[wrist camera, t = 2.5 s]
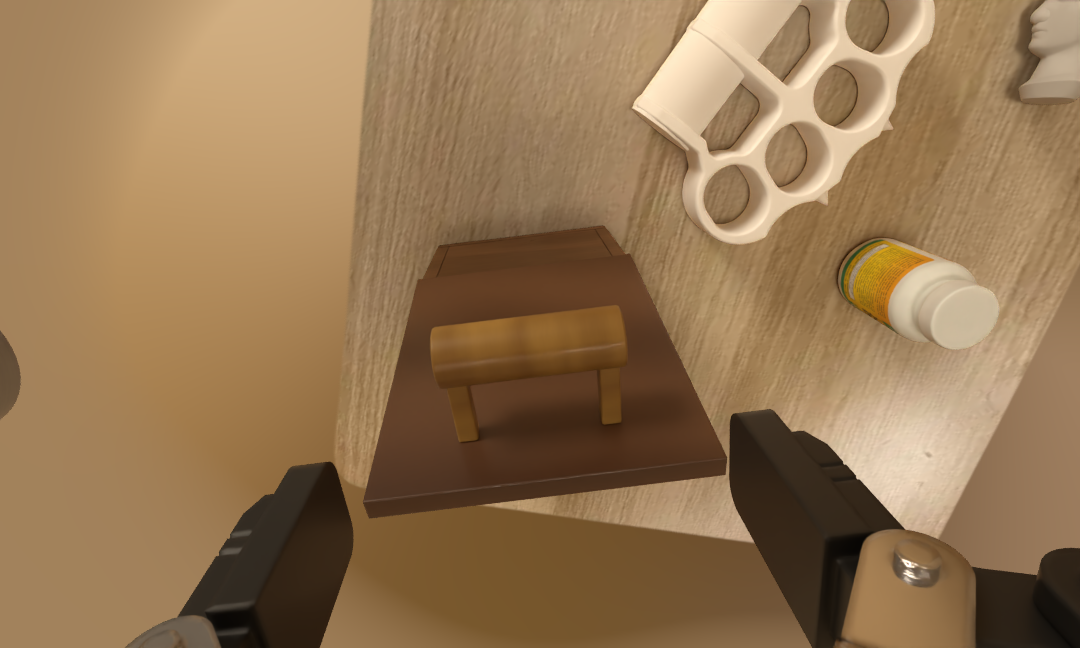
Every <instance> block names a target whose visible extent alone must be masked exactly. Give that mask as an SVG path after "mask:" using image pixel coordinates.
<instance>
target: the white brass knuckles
mask: <svg viewBox="0 0 1080 648" xmlns="http://www.w3.org/2000/svg"><path fill="white" fill-rule="evenodd" d="M850 1H851V0H708V2H707V3H706V4H705V6H704V7H703V9H702V10H701V11H700V13H699V14H698V16H697V17H696V18H695V20H693V21H692V22H691V23H690V25H689V26H688V27H687V29H686V30H687V31H686V33H685V34H684V35H683V37H682V38H681V40H680V41H679V42H678V44H677V45H676V47H675V48H674V49H673V51H672V52H671V54H670V55H669V56H668V58H667V59H666V61H665V62H664V63H663V65H662V66H661V68H660V69H659V70H658V72H657V73H656V75H655V76H654V78H653V79H652V80H651V82H650V83H649V85H648V86H647V87H646V89H645V90H644V92H643V93H642V94H641V96H638V98H637V99H636V101H635V102H634V103H633V107H632V110H633V111H634V112H635V113H636V114H637V115H639V116H640V117H641V118H642V119H643V120H644V121H645V122H647V123H648V124H649V125H650V126H652V127H653V128H654V129H655V130H657V131H658V132H659V133H660V134H662V135H663V136H664V137H666V138H667V139H668V140H670V141H671V142H673V143H674V144H675V145H677V146H678V147H680V148H681V149H683V150H685V154H686V158H687V162H688V171H687V173H686V176H685V179H684V183H683V190H682V196H683V203H684V207H685V210H686V212H687V214H688V216H689V217H690V219H691V220H692V221H693V222H694V223H695V224H696V225H697V226H698V227H699V228H701V229H702V230H703V231H705V232H706V233H708V234H709V235H711V236H712V237H714V238H715V239H717V240H719V241H721V242H724V243H728V244H735V245H742V244H749V243H753V242H756V241H759V240H761V239H763V238H765V237H766V236H767V234H768V232H769V230H770V228H771V227H772V225H773V224H774V223H775V221H776V220H777V219H778V218H779V217H780V216H781V215H782V214H783V213H785V212H786V211H787V210H789V209H791V208H792V207H794V206H797V205H799V204H802V203H806V202H813V201H817V202H820V203H822V204H824V205H826V206H828V190H829V189H831V188H832V187H833V186H835V185H836V184H837V183H839V182H840V181H841V178H842V175H843V172H844V170H845V168H846V166H847V164H848V162H849V161H850V159H851V158H852V156H853V155H854V154H855V153H856V152H857V151H858V150H859V149H860V148H861V147H862V146H863V145H865V144H866V143H868V142H869V141H871V140H873V139H875V138H877V137H879V135H880V133H881V131H885V130H894V128H893V127H892V125H891V123H890V121H889V119H888V118H889V117H890V115H891V113H892V111H893V109H894V107H895V105H896V93H897V88H898V84H899V81H900V78H901V76H902V74H903V72H904V70H905V68H906V66H907V65H908V63H909V62H910V60H911V59H912V58H913V57H914V56H915V55H916V54H917V53H918V52H919V51H920V50H921V49H922V48H923V47H925V46H926V45H927V44H928V43H929V42H930V39H931V36H932V33H933V28H934V22H935V7H934V1H933V0H884V2H885V3H886V5H887V8H888V12H889V25H888V29H887V32H886V35H885V37H884V39H883V40H882V42H881V43H880V45H879V46H878V47H877V48H876V49H875V50H874V51H873V52H868V51H866V50H863V49H861V48H859V47H857V46H856V45H855V44H854V43H853V42H852V41H851V40H850V38H849V36H848V34H847V31H846V24H845V19H846V12H847V8H848V5H849V3H850ZM799 5H803V6H805V7H807V8H808V10H809V12H810V22H809V34H810V46H809V48H808V50H807V51H806V53H805V54H804V55H803V56H802V58H801V59H800V60H799V62H798V63H797V64H796V65H795V67H794V68H793V69H792V71H791V72H790V73H789V74H788V76H787V77H786V78H785V80H784V81H783V82H781V81H780V80H779V79H778V78H777V77H776V76H775V75H773V74H772V73H771V72H770V71H769V70H768V69H767V68H765V67H764V66H763V65H762V64H761V63H760V62H758V61H757V60H758V58H759V57H760V56H761V54H762V53H763V52H764V50H765V49H766V48H767V46H768V45H769V44H770V43H771V41H772V40H773V39H774V37H775V36H776V35H777V33H778V32H779V31H780V29H781V28H782V27H783V25H784V24H785V23H786V21H787V20H788V19H789V17H790V16H791V15H792V14H793V12H794V11H795V10H796V8H797V7H798V6H799ZM832 65H837V66H839V67H842V68H844V69H846V70H848V71H849V72H850V73H851V74H852V75H853V76H854V78H855V80H856V82H857V86H858V97H857V102H856V105H855V107H854V109H853V111H852V112H851V114H850V115H849V116H848V117H847V118H846V119H845V120H844V121H843V122H842V123H840V124H839V125H837V126H834V127H833V126H831V125H828V124H826V123H824V122H823V121H822V120H821V119H820V118H819V117H818V115H817V113H816V111H815V108H814V101H813V99H814V91H815V87H816V85H817V83H818V81H819V79H820V77H821V76H822V74H823V73H824V72H825V71H826V70H827V69H828V68H829V67H831V66H832ZM739 83H741V84H742V85H743V86H744V87H745V88H747V89H748V90H749V91H750V92H751V93H752V94H754V95H755V96H756V97H757V98H758V100H759V104H760V108H759V112H758V114H757V115H756V117H755V118H754V119H753V120H752V122H751V123H750V124H749V126H748V127H747V128H746V129H745V131H744V132H743V133H742V135H741V136H740V137H739V138H738V140H737V141H736V142H735V144H734V145H733V146H732V147H731V148H729V149H727V150H715V151H711V152H709V151H708V147H707V143H706V141H705V140H704V139H703V138H702V137H701V136H700V135H701V134H702V132H703V131H704V130H705V128H706V127H707V126H708V124H709V123H710V122H711V120H712V119H713V118H714V116H715V115H716V114H717V112H718V111H719V110H720V108H721V107H722V106H723V105H724V103H725V102H726V101H727V99H728V98H729V97H730V95H731V94H732V93H733V91H734V90H735V89H736V87H737V86H738V85H739ZM789 124H792V125H793V126H795V127H796V129H797V130H798V131H799V133H800V135H801V137H802V138H803V140H804V142H805V144H806V147H807V161H806V165H805V167H804V169H803V171H802V173H801V174H800V175H799V177H798V178H797V179H796V180H794V181H793V182H792V183H790V184H788V185H786V186H783V187H777V185H776V184H775V182H774V181H773V179H772V178H771V176H770V174H769V173H768V171H767V168H766V164H765V154H766V149H767V146H768V144H769V142H770V140H771V139H772V137H773V136H774V135H775V133H776V132H777V131H779V130H780V129H781V128H783V127H784V126H786V125H789ZM730 165H736V166H737V167H738V168H739V169H740V171H741V172H742V174H743V175H744V177H745V179H746V180H747V182H748V185H749V189H750V197H749V202H748V204H747V207H746V208H745V210H744V211H743V213H742V214H741V215H740V216H739V217H738V218H736V219H735V220H733V221H731V222H729V223H725V224H715V223H714V222H713V220H712V219H711V217H710V216H709V214H708V213H707V211H706V209H705V206H704V191H705V188H706V185H707V183H708V181H709V180H710V178H711V177H712V176H713V175H714V174H715V173H716V172H717V171H719V170H720V169H722V168H724V167H726V166H730Z"/></svg>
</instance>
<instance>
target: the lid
mask: <svg viewBox="0 0 1080 648" xmlns="http://www.w3.org/2000/svg"><path fill="white" fill-rule="evenodd" d="M726 464H727V456H726V454H725V452H724V450H723V448H722V446H721V444H720V442H719V440H718V438H717V435H716V433H715V431H714V429H713V427H712V425H711V423H710V421H709V419H708V417H707V414H706V412H705V410H704V408H703V406H702V404H701V402H700V400H699V398H698V396H697V393H696V391H695V389H694V387H693V385H692V383H691V381H690V379H689V377H688V375H687V372H686V370H685V368H684V366H683V364H682V362H681V360H680V358H679V356H678V354H677V351H676V349H675V347H674V345H673V343H672V341H671V339H670V337H669V335H668V333H667V330H666V328H665V326H664V324H663V322H662V320H661V318H660V316H659V314H658V312H657V309H656V307H655V305H654V303H653V301H652V299H651V297H650V295H649V293H648V291H647V289H646V286H645V284H644V282H643V280H642V278H641V276H640V274H639V272H638V270H637V268H636V265H635V263H634V261H633V259H632V257H631V255H630V254H625V255H617V256H609V257H601V258H592V259H584V260H576V261H568V262H559V263H551V264H543V265H534V266H526V267H518V268H510V269H501V270H493V271H485V272H477V273H468V274H460V275H452V276H443V277H435V278H427V279H419V280H418V281H417V286H416V290H415V294H414V298H413V302H412V306H411V310H410V314H409V318H408V322H407V326H406V330H405V334H404V338H403V342H402V346H401V350H400V354H399V358H398V362H397V366H396V370H395V375H394V379H393V383H392V387H391V391H390V395H389V399H388V403H387V407H386V411H385V415H384V419H383V423H382V427H381V431H380V435H379V439H378V443H377V447H376V451H375V455H374V460H373V464H372V468H371V472H370V476H369V480H368V484H367V488H366V492H365V496H364V500H363V504H364V506H365V509H366V512H367V514H368V517H369V518H378V517H385V516H393V515H402V514H410V513H418V512H426V511H435V510H443V509H451V508H459V507H467V506H476V505H484V504H492V503H500V502H508V501H516V500H525V499H533V498H541V497H549V496H557V495H565V494H573V493H582V492H590V491H598V490H606V489H614V488H622V487H631V486H639V485H647V484H655V483H663V482H671V481H680V480H688V479H696V478H704V477H712V476H720V475H725V474H726Z"/></svg>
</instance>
